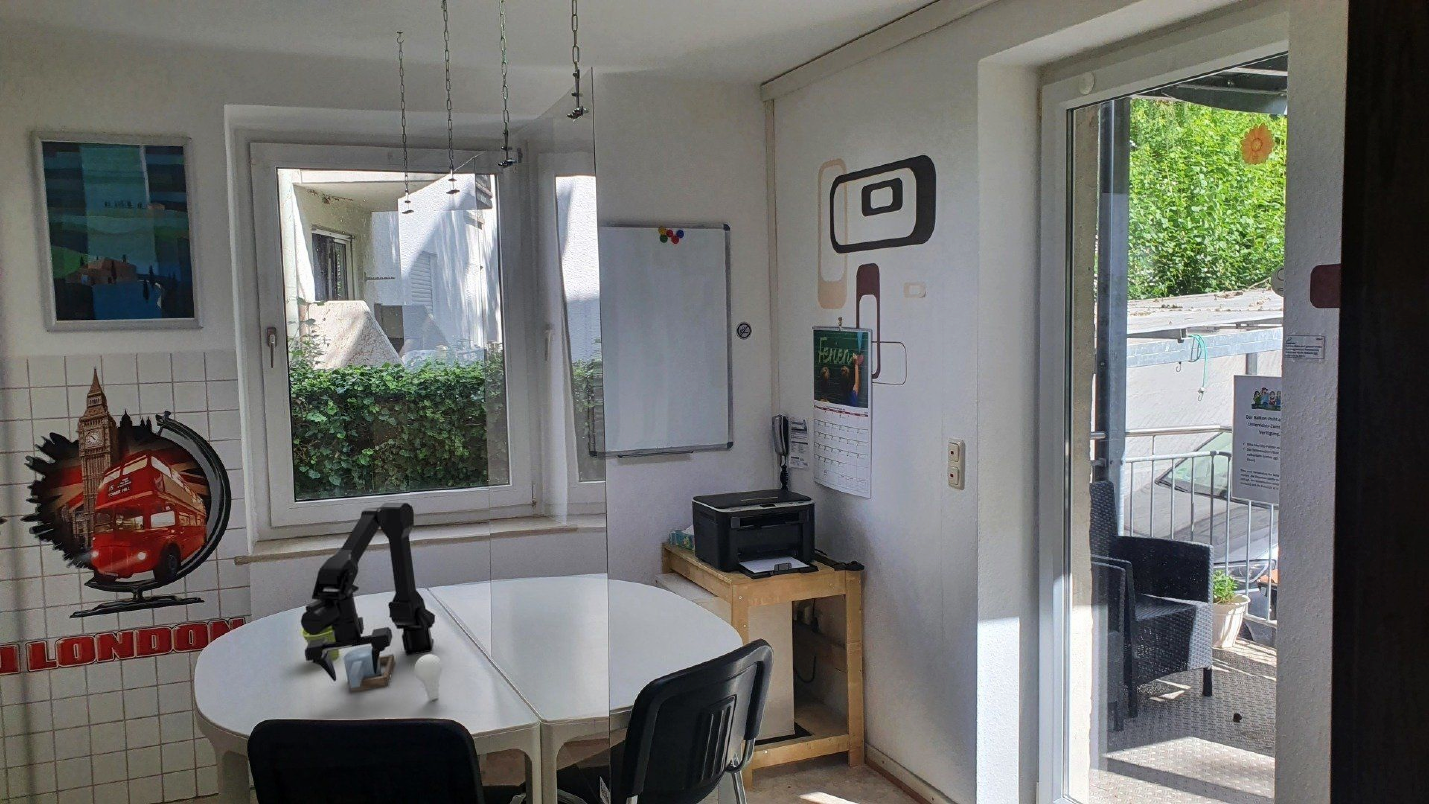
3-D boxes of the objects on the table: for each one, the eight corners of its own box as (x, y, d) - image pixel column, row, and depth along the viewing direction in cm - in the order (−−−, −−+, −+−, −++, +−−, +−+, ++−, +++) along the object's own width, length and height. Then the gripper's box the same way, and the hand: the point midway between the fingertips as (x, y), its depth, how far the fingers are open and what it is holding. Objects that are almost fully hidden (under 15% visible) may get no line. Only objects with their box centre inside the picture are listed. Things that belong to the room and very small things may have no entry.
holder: (394, 661, 245) (393, 653, 245) (388, 685, 233) (386, 676, 232) (358, 668, 243) (357, 660, 243) (350, 692, 231) (348, 683, 231)
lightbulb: (423, 694, 226) (415, 651, 224) (449, 691, 227) (442, 648, 225) (417, 707, 220) (410, 663, 218) (444, 704, 221) (437, 660, 219)
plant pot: (332, 667, 246) (326, 635, 244) (299, 667, 248) (293, 635, 246) (352, 649, 255) (347, 619, 253) (321, 649, 257) (315, 619, 255)
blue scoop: (351, 673, 241) (346, 649, 240) (384, 667, 242) (379, 644, 241) (340, 704, 226) (335, 678, 225) (375, 697, 227) (370, 672, 226)
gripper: (389, 595, 234) (400, 654, 237) (308, 609, 231) (320, 668, 234) (383, 613, 223) (394, 675, 226) (298, 628, 220) (311, 690, 223)
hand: (355, 676), depth 228 cm, fingers open, 9 cm apart
